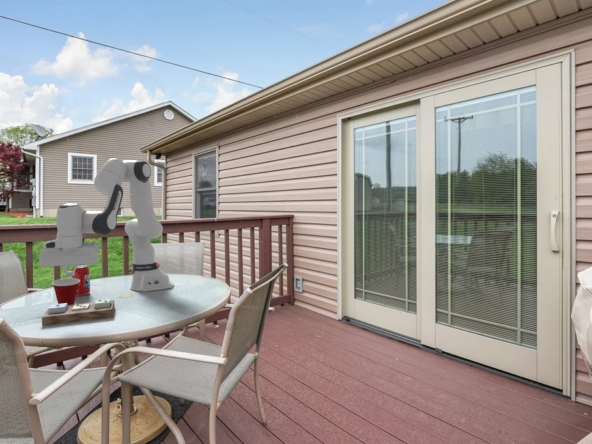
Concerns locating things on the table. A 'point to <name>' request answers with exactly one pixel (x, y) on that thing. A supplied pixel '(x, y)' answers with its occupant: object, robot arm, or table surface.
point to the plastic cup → (66, 290)
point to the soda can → (82, 279)
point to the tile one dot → (57, 308)
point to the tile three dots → (81, 307)
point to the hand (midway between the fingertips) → (70, 275)
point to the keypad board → (78, 314)
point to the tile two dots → (103, 303)
